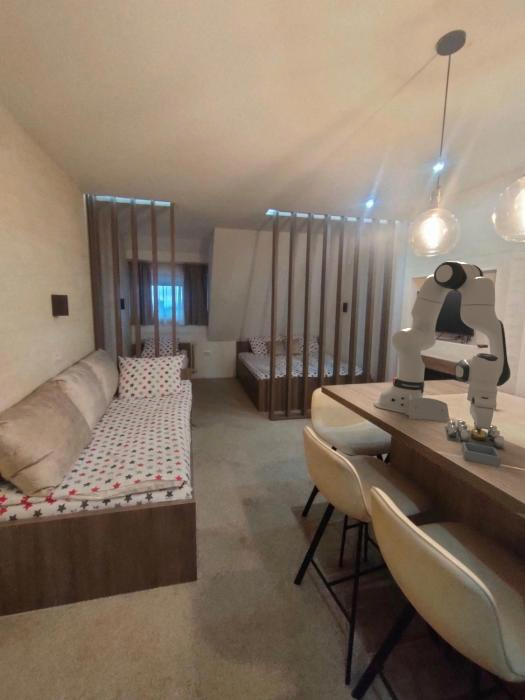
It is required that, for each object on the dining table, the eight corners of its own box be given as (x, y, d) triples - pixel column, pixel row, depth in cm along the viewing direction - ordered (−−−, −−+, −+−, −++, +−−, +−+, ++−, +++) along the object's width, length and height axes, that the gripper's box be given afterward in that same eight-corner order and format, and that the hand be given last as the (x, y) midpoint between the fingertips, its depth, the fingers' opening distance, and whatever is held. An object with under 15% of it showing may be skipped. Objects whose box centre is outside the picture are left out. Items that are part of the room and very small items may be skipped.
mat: (447, 441, 113) (447, 440, 113) (444, 427, 128) (444, 426, 127) (505, 452, 106) (505, 451, 106) (495, 435, 120) (495, 434, 120)
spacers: (448, 439, 114) (450, 429, 113) (446, 427, 126) (447, 418, 125) (503, 449, 107) (504, 438, 106) (494, 436, 119) (496, 426, 118)
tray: (464, 459, 99) (465, 451, 99) (461, 450, 106) (462, 441, 106) (499, 467, 95) (500, 457, 95) (493, 456, 102) (494, 447, 102)
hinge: (408, 418, 137) (408, 395, 139) (406, 418, 141) (406, 396, 143) (450, 423, 132) (450, 399, 134) (447, 423, 137) (447, 400, 139)
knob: (472, 440, 114) (473, 432, 114) (469, 435, 118) (470, 428, 118) (486, 442, 113) (487, 434, 112) (483, 437, 117) (484, 430, 116)
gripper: (467, 389, 127) (463, 422, 129) (475, 402, 109) (471, 440, 111) (486, 392, 124) (482, 425, 126) (497, 405, 106) (492, 444, 108)
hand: (477, 432), depth 118 cm, fingers closed
